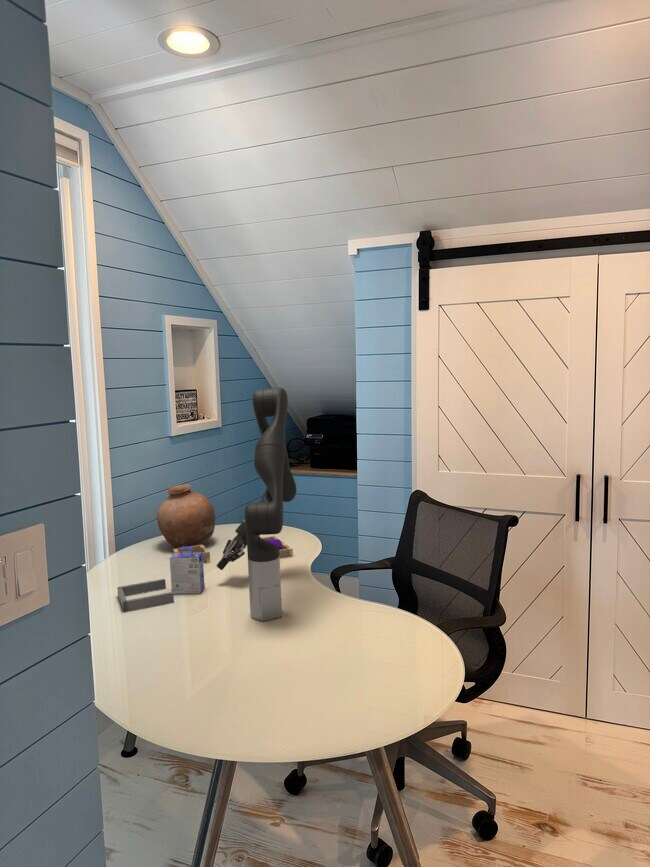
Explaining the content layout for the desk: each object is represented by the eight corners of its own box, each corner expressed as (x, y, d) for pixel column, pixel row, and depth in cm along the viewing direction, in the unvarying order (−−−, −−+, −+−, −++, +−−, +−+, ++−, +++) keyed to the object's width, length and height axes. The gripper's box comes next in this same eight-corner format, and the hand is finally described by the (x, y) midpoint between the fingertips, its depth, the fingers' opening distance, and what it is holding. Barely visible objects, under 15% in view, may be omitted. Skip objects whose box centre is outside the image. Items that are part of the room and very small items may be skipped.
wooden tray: (210, 562, 223) (209, 552, 223) (180, 567, 219) (179, 557, 218) (202, 554, 234) (202, 544, 233) (173, 559, 229) (173, 549, 228)
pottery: (224, 538, 255) (220, 480, 252) (203, 555, 232) (200, 492, 229) (173, 537, 259) (170, 480, 256) (148, 554, 236) (144, 491, 233)
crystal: (263, 536, 242) (285, 539, 231) (265, 548, 243) (286, 552, 231) (253, 538, 239) (275, 542, 228) (255, 550, 240) (276, 555, 228)
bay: (174, 602, 187) (173, 592, 186) (123, 612, 180) (123, 602, 180) (165, 587, 200) (164, 578, 199) (117, 596, 193) (117, 587, 193)
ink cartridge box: (205, 587, 198) (203, 545, 197) (201, 593, 193) (199, 550, 191) (175, 588, 199) (173, 545, 197) (171, 594, 193) (168, 551, 192)
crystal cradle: (292, 556, 227) (292, 548, 227) (268, 560, 223) (267, 553, 223) (273, 542, 246) (273, 535, 245) (250, 546, 241) (250, 539, 241)
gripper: (238, 516, 208) (205, 556, 204) (250, 525, 196) (215, 568, 192) (253, 528, 211) (221, 568, 207) (266, 538, 199) (232, 580, 195)
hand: (218, 568), depth 200 cm, fingers closed
